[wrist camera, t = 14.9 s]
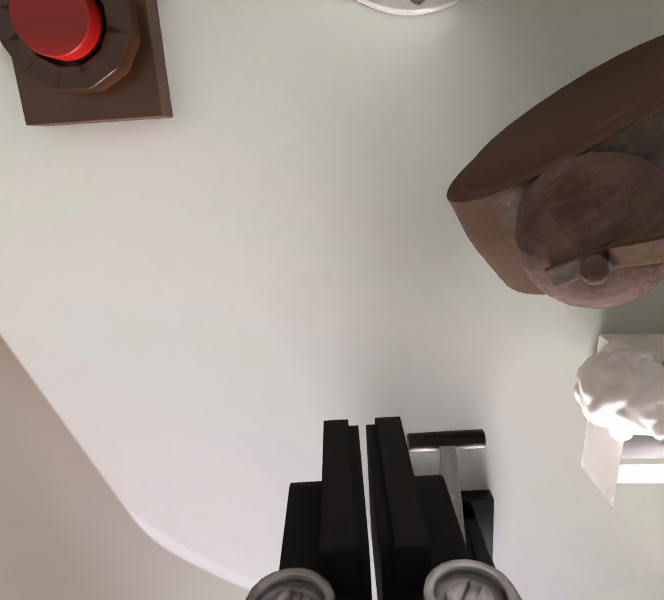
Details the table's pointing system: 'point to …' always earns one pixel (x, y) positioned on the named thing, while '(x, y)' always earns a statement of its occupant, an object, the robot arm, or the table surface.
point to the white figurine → (623, 410)
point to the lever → (448, 457)
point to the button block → (96, 71)
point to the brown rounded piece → (576, 188)
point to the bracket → (478, 524)
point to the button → (58, 26)
